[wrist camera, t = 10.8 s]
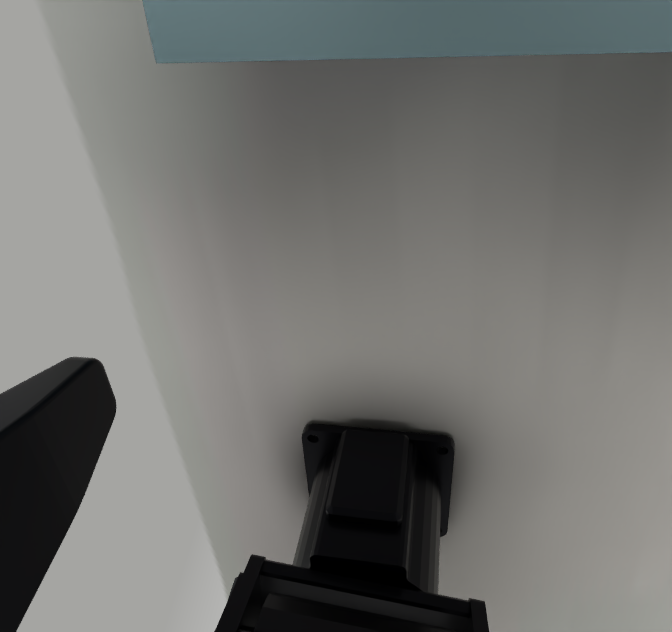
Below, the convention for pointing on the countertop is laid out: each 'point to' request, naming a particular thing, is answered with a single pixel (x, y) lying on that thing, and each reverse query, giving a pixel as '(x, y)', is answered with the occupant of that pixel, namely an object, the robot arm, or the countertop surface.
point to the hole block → (402, 28)
